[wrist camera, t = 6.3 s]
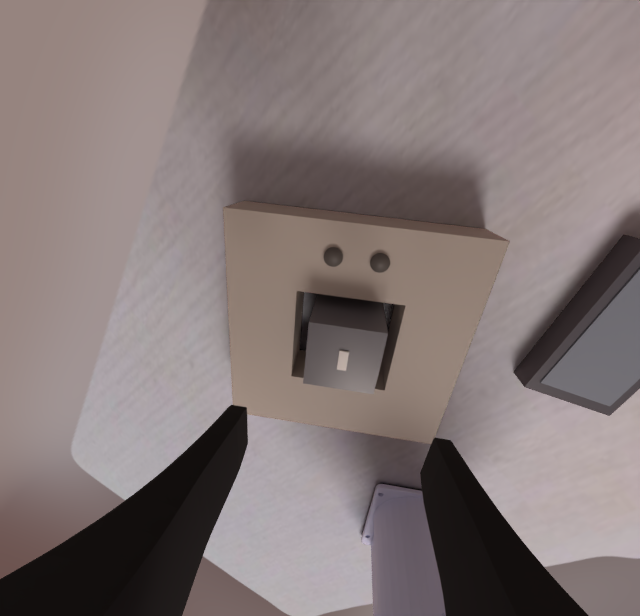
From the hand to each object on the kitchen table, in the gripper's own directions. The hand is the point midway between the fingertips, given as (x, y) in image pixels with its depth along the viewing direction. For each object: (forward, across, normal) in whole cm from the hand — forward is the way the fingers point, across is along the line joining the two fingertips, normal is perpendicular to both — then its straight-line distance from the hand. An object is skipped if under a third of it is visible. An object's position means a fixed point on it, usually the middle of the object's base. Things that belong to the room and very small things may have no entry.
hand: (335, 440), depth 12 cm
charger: (+10, 0, 0) cm, 10 cm away
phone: (+10, -16, -2) cm, 19 cm away
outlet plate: (+10, 0, 0) cm, 10 cm away
